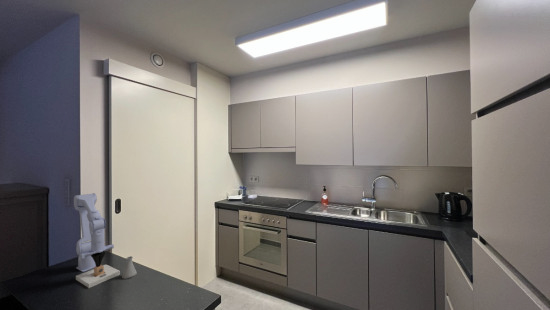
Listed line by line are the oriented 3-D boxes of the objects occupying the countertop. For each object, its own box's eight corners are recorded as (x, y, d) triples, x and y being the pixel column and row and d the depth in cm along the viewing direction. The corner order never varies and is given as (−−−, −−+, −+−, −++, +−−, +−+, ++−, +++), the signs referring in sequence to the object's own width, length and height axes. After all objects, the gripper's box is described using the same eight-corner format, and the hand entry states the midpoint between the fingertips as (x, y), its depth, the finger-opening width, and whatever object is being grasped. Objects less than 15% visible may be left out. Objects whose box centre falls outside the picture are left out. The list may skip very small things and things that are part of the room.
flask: (124, 280, 115) (124, 262, 115) (119, 276, 119) (119, 258, 119) (139, 274, 120) (139, 256, 120) (134, 270, 125) (133, 253, 125)
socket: (75, 279, 116) (75, 275, 116) (106, 267, 129) (106, 263, 129) (88, 288, 109) (88, 283, 109) (119, 274, 121) (119, 270, 121)
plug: (94, 277, 118) (93, 266, 118) (100, 275, 121) (100, 264, 121) (98, 280, 115) (98, 269, 116) (104, 277, 118) (104, 266, 118)
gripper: (84, 247, 110) (84, 274, 110) (116, 238, 123) (116, 261, 123) (78, 245, 114) (79, 270, 114) (110, 236, 127) (110, 259, 126)
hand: (98, 266), depth 119 cm, fingers closed
